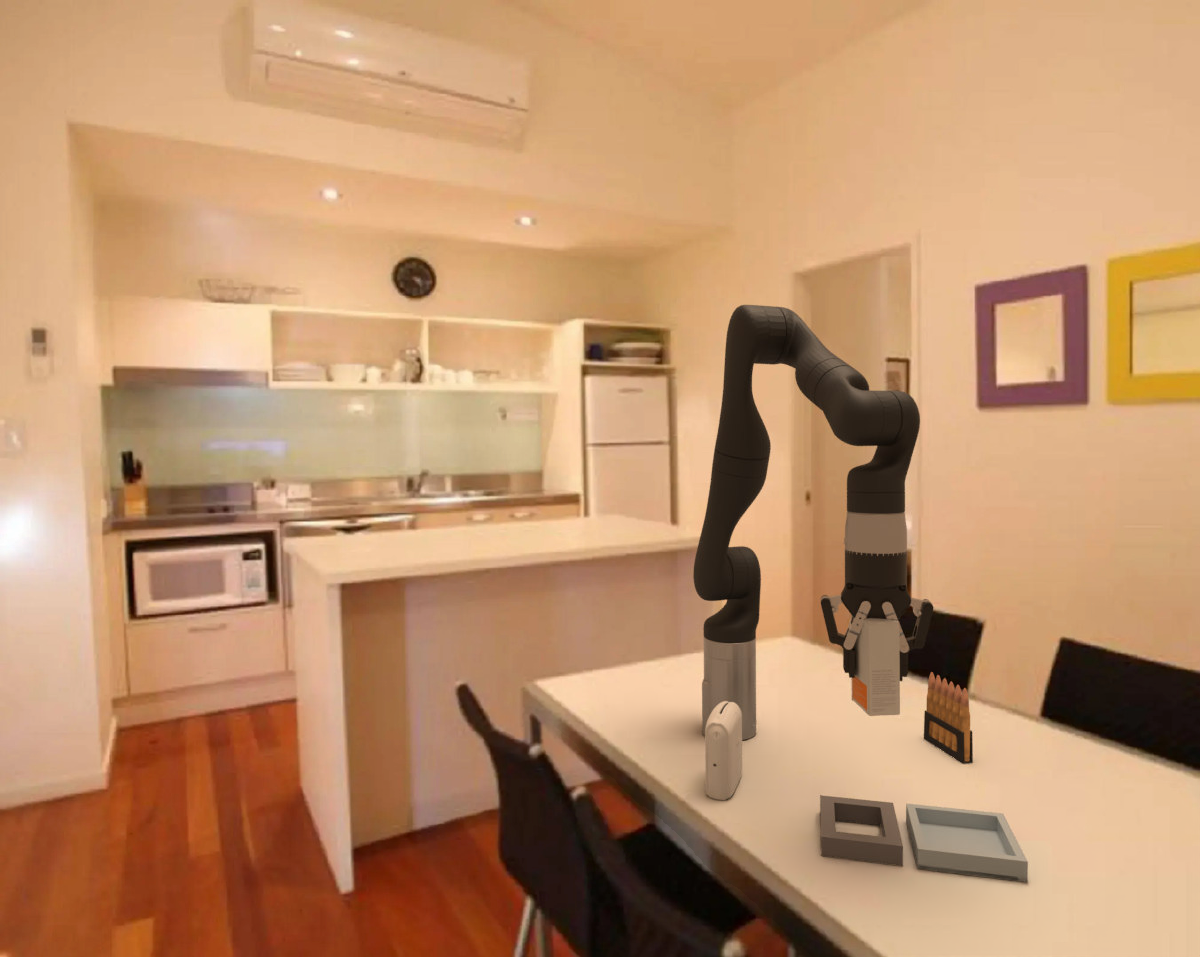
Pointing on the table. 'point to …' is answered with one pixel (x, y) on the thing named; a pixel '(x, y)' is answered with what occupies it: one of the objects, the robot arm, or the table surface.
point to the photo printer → (723, 750)
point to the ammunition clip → (948, 719)
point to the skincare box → (877, 667)
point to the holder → (860, 845)
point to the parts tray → (965, 842)
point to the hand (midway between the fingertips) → (875, 677)
